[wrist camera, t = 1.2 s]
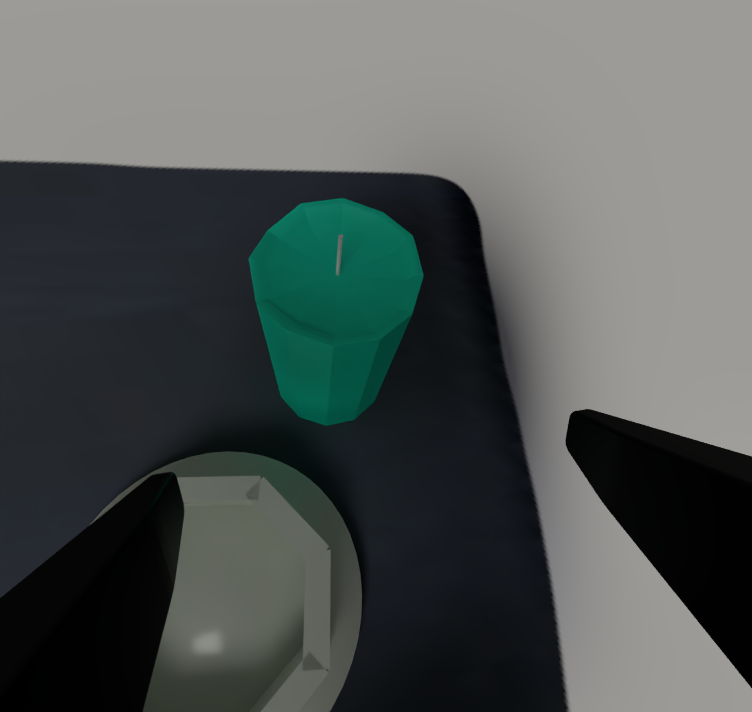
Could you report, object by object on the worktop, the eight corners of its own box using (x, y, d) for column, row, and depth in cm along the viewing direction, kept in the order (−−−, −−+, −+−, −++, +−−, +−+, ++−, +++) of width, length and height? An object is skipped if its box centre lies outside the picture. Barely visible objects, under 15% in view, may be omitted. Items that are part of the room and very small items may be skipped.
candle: (351, 313, 25) (378, 146, 14) (400, 396, 23) (472, 278, 13) (259, 351, 23) (208, 194, 13) (304, 445, 22) (291, 355, 11)
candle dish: (363, 773, 17) (374, 829, 14) (12, 815, 15) (-71, 891, 12) (357, 453, 22) (364, 439, 19) (94, 456, 20) (52, 442, 17)
